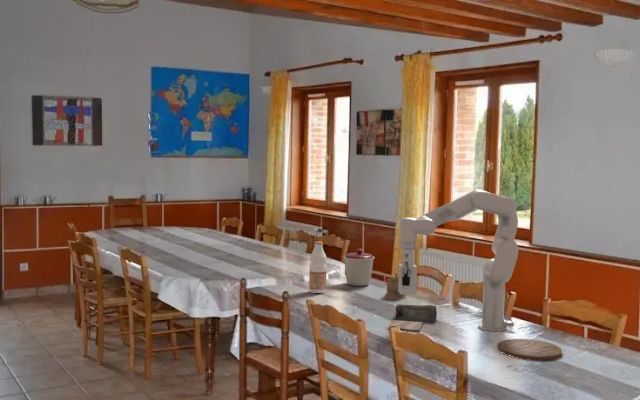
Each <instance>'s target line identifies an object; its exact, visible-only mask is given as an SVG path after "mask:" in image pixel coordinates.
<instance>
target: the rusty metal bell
mask: <svg viewBox="0 0 640 400" xmlns="http://www.w3.org/2000/svg"><path fill="white" fill-rule="evenodd" d="M398 281H399V277H398V272H397V271H395V272H394V277H390V278H388V279H387V280H386V293H385V295H384V297H385V298H386V299H392V300H404V299H406V298H407V294H400V293H399V291H398Z"/></svg>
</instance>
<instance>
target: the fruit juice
mask: <svg viewBox="0 0 640 400" xmlns="http://www.w3.org/2000/svg"><path fill="white" fill-rule="evenodd" d="M313 245H314V247H313V250H312V252H311V253H310V256H309V261H310V265H309V268H308V270H309V271H308V277H309V278H308V292H309V293H310V292H311V293H310V294H313V293H323V294H325V292H327V264H326V262H327V254H326V252H325V251H324V248H323V247H324V246H323V245H324V242H323V241H320V240H319V241H318V240H317V241H313Z"/></svg>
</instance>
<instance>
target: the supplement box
mask: <svg viewBox="0 0 640 400" xmlns="http://www.w3.org/2000/svg"><path fill="white" fill-rule="evenodd" d="M403 269H404V268H403ZM407 270H409V267H407ZM402 277H403V271H402V263H398V278H399V281H398V291H399V293H400V294H405V295H417V289H418V287H417V285H418V283H417V282H418V281H417V280H418V266H417V265H416V264H415V265H414V266H413V271H412V272H411V271H410V273H409V277H410V285H409V286H403V285H402Z"/></svg>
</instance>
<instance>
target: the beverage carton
mask: <svg viewBox="0 0 640 400" xmlns="http://www.w3.org/2000/svg"><path fill="white" fill-rule="evenodd" d="M437 315H438V313H437V305H431V304H429V305H420V304H419V305H418V304H417V305H416V304H415V305H414V304H413V305H412V304H398V303H397V304H396V305H395V320H399V321H415V322H436V321H437Z"/></svg>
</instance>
